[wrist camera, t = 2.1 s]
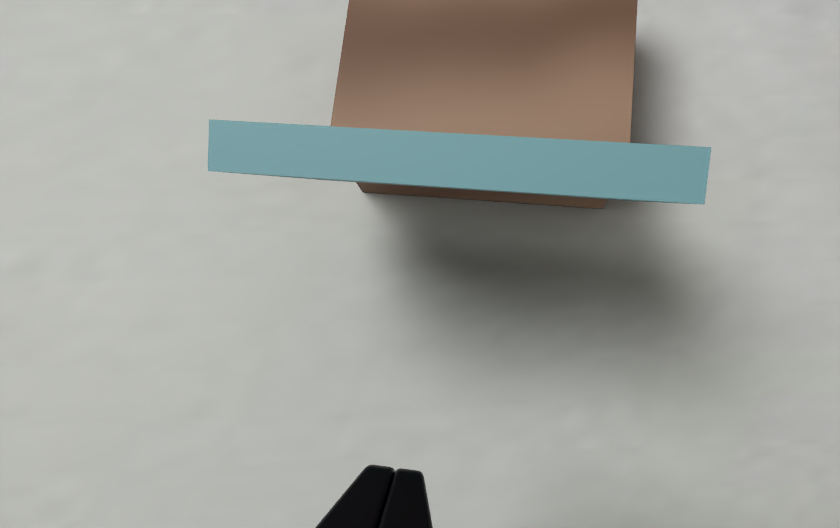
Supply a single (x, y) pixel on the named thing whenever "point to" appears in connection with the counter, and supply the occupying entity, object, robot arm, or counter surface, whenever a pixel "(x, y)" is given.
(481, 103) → the case
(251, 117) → the counter surface
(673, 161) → the lid
